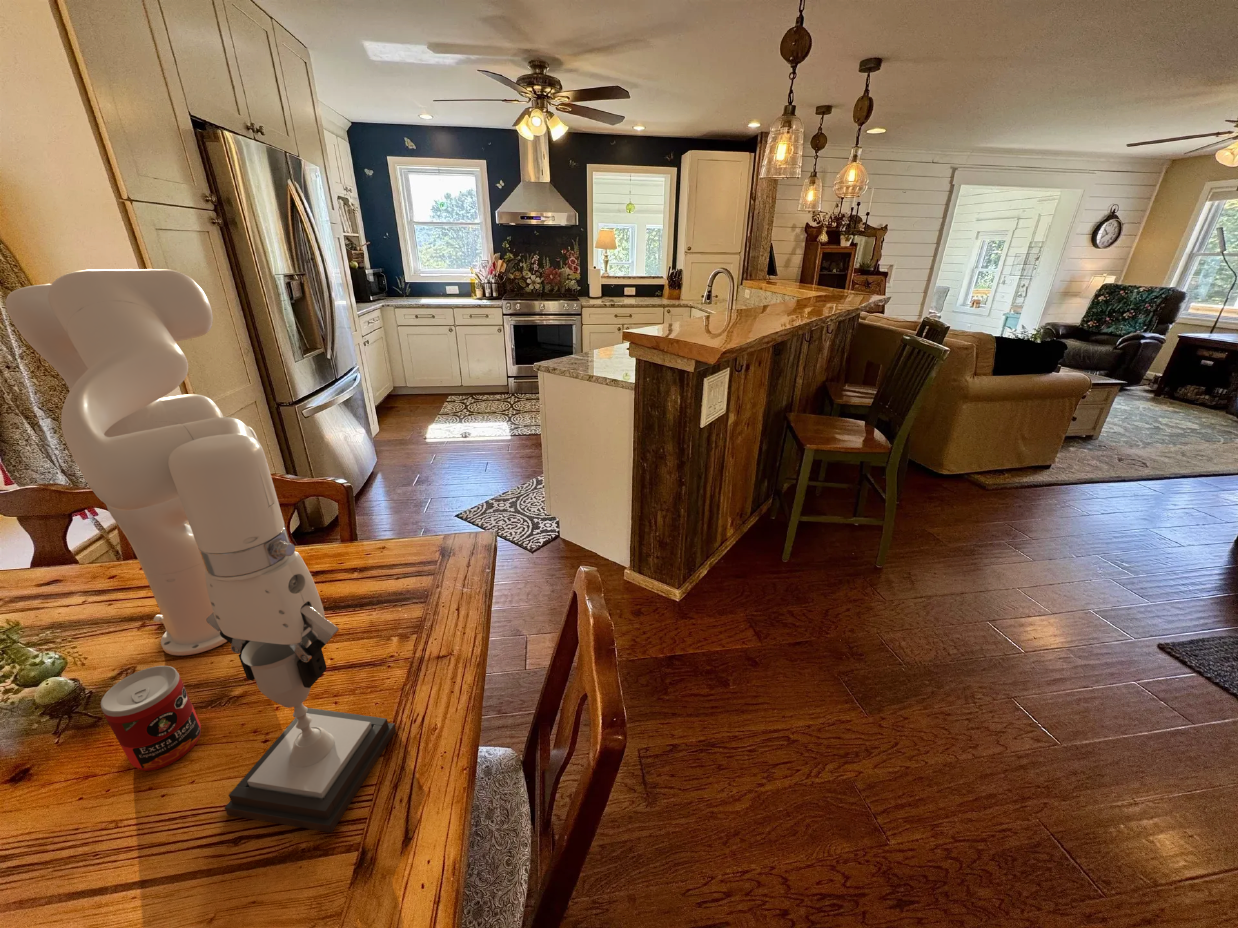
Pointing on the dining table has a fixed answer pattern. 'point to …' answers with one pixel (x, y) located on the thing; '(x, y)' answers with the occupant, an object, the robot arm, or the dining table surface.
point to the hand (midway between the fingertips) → (287, 673)
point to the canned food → (152, 717)
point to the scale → (309, 809)
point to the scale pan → (319, 776)
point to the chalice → (288, 696)
